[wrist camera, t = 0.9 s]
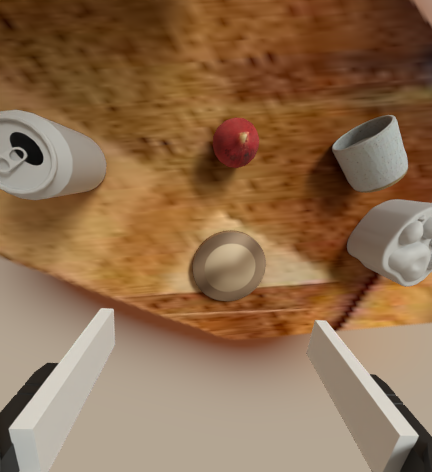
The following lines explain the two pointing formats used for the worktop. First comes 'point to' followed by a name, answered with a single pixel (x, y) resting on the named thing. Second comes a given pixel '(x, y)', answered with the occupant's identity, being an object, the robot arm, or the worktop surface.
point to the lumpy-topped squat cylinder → (395, 241)
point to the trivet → (228, 265)
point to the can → (46, 158)
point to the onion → (235, 142)
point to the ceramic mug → (372, 154)
